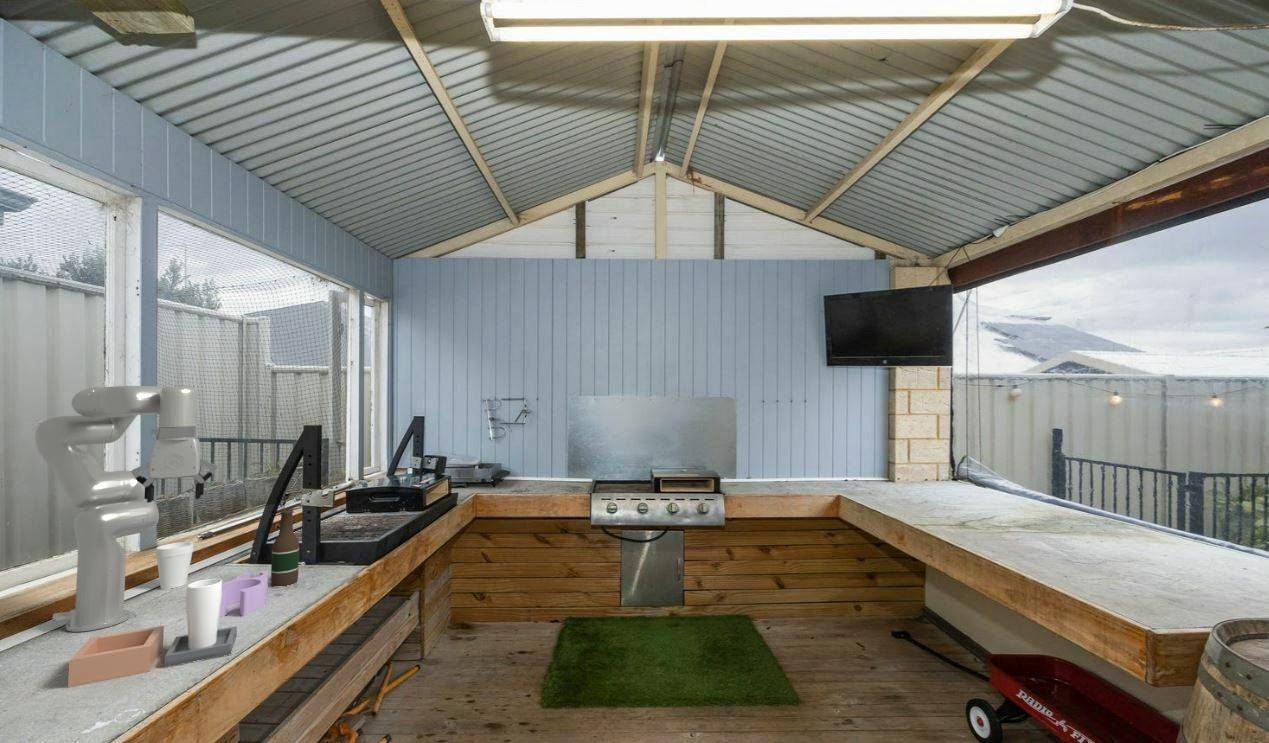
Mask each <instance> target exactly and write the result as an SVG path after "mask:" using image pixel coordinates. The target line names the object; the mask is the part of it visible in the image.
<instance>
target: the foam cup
mask: <svg viewBox="0 0 1269 743" xmlns="http://www.w3.org/2000/svg"><path fill="white" fill-rule="evenodd" d="M194 545H195V543H194V542H192V541H181V542H178V541H177V542H174V543H167V544H162V545H159V546H157V547H156V548H155V557H156V561H157V570H158V578H159V586H160V590H166V589H167V590H172V589H171V588H174V589H176V588H175V587H179V586H182V585H184V584H186V585H187V582H188V577H189V570H190V566H191V562H192V556H193V552H194V547H195V546H194ZM182 587H183V586H182ZM179 588H180V587H179Z"/></svg>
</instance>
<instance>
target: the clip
mask: <svg viewBox="0 0 1269 743" xmlns="http://www.w3.org/2000/svg"><path fill="white" fill-rule="evenodd" d="M251 575H252V573H251V572H245V573H242V574H239V575H237V576H235V578H234V579H233V580H230V581H226V582H224V583H223V582H222V599H221V607H220V614H219V618H220V619H222V618H221V617H223V616H225V615H228V607H227V606H229V605H232V604H236V603H240V604H239V616H240V615H242V616H245V615H248V616H249V614H250V613H249V612H252V613H254V612H253V611H255V610H257V611H259V610H258V609H260V608H262V607H263V608H265V606H266V605H267V597H268V596H269V592H268V591H269V572H268V571H265V570H262V571H260V572H259V576H254V577H252V576H251ZM267 595H268V596H267ZM266 596H267V597H266ZM236 605H237V604H236ZM232 606H233V605H232ZM229 607H230V606H229ZM263 608H262V609H263ZM260 610H261V609H260ZM255 612H256V611H255ZM242 616H241V617H242ZM225 617H226V616H225ZM245 617H246V616H245ZM223 618H224V617H223Z"/></svg>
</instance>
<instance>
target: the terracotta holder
mask: <svg viewBox="0 0 1269 743" xmlns="http://www.w3.org/2000/svg"><path fill="white" fill-rule="evenodd" d="M164 629H165V626H164V625H159V626H154V627H147V628H142V629H136V630H135V629H134V630H129V631H122V632H118V633H110V634H105V635H99V636H93V637H90V638H89V639H88V640H86V642H85V643H84V644H83V645H82V646H81V647H80V649H78V651H77V652H76V653H75V654H74V655H73V656H72V657H71V658H70V659H69V661H68V663H69V664H68V667H69V668H68V679H67V680H68V681H67V683H68V684H67V687H68V688H71V687H72V688H73V687H77V686H81V685H88V684H92V683H98V682H103V681H108V680H112V679H119V678H124V677H129V676H134V675H139V674H143V673H148V672H150V671H151V670H152V668H153V667H154V664H155V663H156V662H157V660H156V659H158V658H159V656H160V654H161V653H162V651H163V650H164V635H165V633H164V632H165V630H164Z"/></svg>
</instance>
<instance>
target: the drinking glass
mask: <svg viewBox="0 0 1269 743" xmlns="http://www.w3.org/2000/svg"><path fill="white" fill-rule="evenodd" d="M222 584H223V580H222V579H220V578H209V579H208V578H207V579H202V580H197V581H193V582H192V583H189V584H188V585H186V586H187V588H186V597H185V600H186V601H185V603H186V605H185V607H186V610H185V611H186V617H187V618H186V622H187V635H188V648H189V649H190V650H193V649H199V648H204V647H210V646H213V645H214V644H215V643H216V641H217V630H218V628H219V621H220V619H219V614H220V607H221V599H222Z"/></svg>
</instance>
